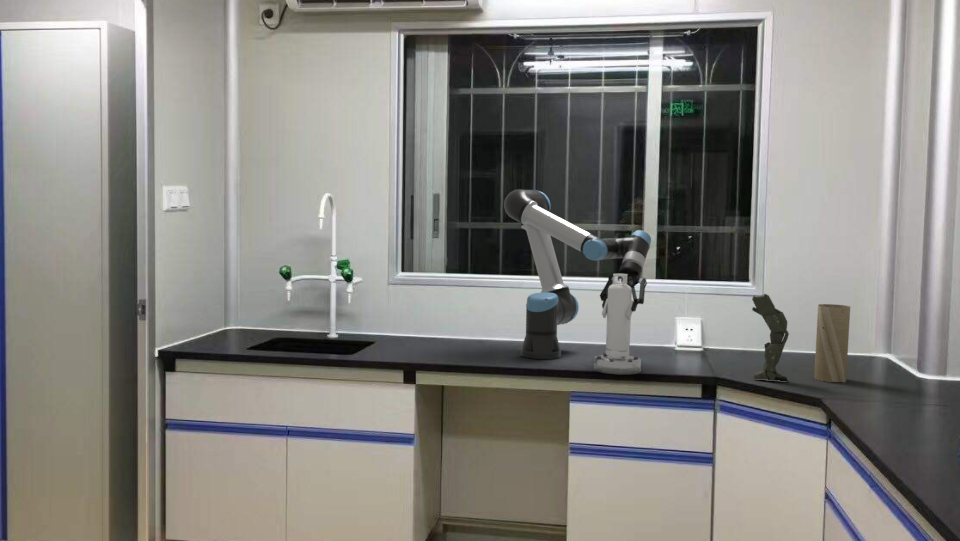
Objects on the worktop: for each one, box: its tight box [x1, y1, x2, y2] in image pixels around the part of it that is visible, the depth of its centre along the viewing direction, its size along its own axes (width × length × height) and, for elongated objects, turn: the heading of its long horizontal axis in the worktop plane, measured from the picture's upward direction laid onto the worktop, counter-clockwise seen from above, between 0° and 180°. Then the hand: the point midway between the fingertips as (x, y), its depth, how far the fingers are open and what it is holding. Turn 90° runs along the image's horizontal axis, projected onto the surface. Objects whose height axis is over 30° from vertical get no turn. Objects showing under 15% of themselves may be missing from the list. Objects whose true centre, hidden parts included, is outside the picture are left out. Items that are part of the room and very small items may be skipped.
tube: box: [813, 303, 851, 383], centre depth 281 cm, size 10×10×25 cm
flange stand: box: [593, 352, 642, 376], centre depth 291 cm, size 16×16×5 cm
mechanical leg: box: [751, 293, 790, 381], centre depth 278 cm, size 14×7×30 cm, turn 71°
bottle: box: [605, 273, 633, 357], centre depth 289 cm, size 8×8×28 cm
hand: (615, 316), depth 286 cm, fingers closed on bottle, 8 cm apart
